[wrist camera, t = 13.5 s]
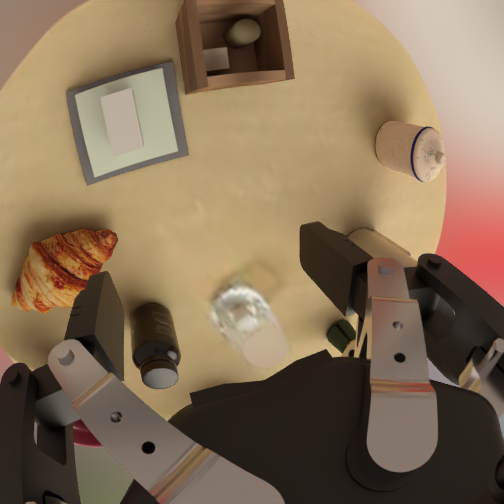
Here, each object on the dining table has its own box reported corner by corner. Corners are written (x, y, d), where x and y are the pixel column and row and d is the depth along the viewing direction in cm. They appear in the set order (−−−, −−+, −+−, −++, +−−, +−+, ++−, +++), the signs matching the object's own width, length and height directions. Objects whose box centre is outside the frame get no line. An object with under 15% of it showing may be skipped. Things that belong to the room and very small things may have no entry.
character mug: (353, 306, 59) (391, 344, 48) (357, 324, 63) (391, 359, 52) (313, 335, 58) (346, 378, 47) (320, 350, 62) (350, 390, 51)
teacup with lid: (381, 177, 45) (432, 199, 35) (366, 132, 40) (423, 146, 30) (418, 147, 45) (466, 163, 36) (407, 105, 40) (459, 115, 30)
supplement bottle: (121, 312, 39) (123, 373, 29) (159, 294, 40) (170, 353, 30) (143, 340, 43) (151, 399, 33) (179, 324, 44) (195, 382, 34)
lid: (161, 70, 26) (165, 59, 20) (176, 149, 31) (183, 157, 25) (78, 96, 23) (62, 91, 18) (97, 174, 29) (86, 188, 23)
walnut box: (254, 16, 26) (282, -3, 19) (264, 84, 31) (294, 78, 25) (175, 22, 24) (185, -2, 17) (186, 94, 29) (198, 88, 22)
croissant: (33, 297, 35) (39, 341, 32) (-10, 273, 26) (-11, 322, 23) (128, 232, 37) (142, 278, 33) (88, 190, 28) (95, 240, 24)
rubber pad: (172, 62, 26) (173, 61, 26) (188, 154, 32) (188, 155, 32) (67, 92, 23) (66, 92, 23) (88, 184, 29) (87, 185, 29)
